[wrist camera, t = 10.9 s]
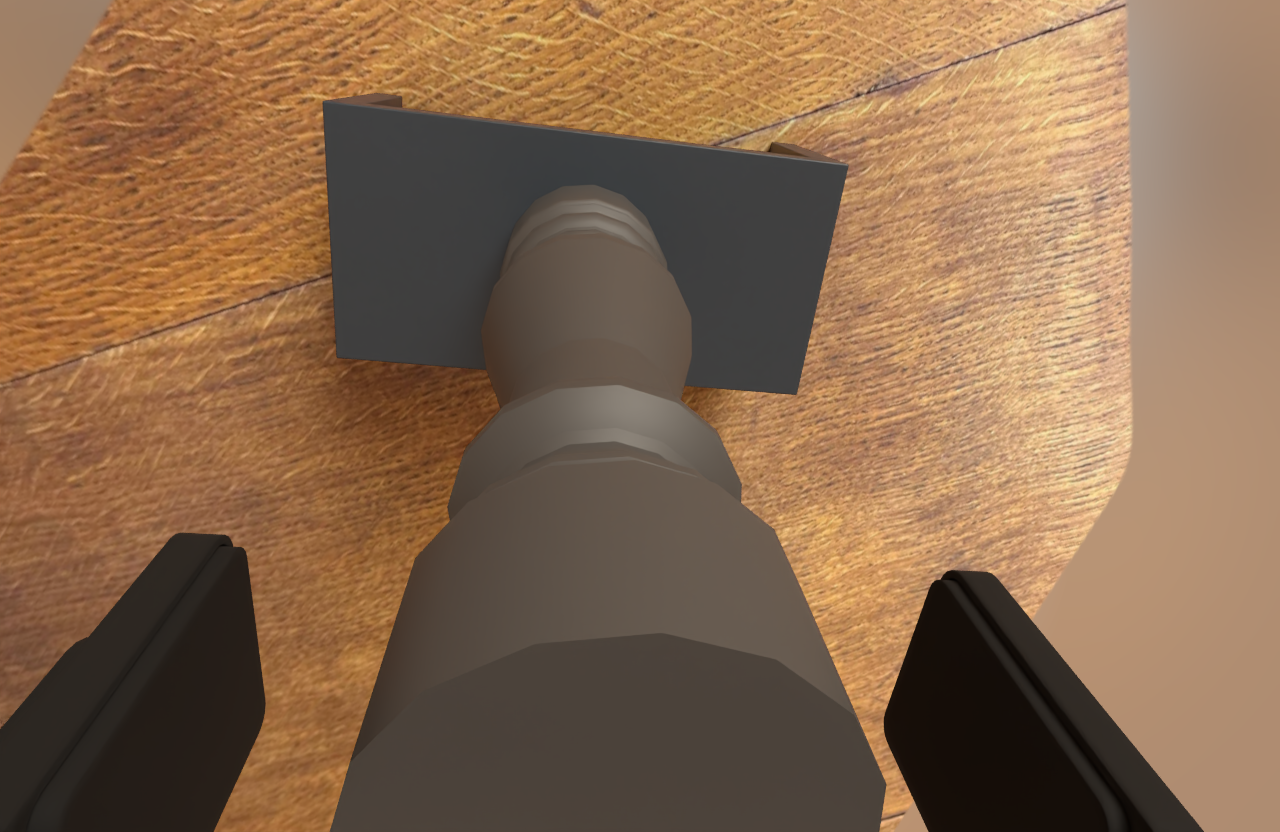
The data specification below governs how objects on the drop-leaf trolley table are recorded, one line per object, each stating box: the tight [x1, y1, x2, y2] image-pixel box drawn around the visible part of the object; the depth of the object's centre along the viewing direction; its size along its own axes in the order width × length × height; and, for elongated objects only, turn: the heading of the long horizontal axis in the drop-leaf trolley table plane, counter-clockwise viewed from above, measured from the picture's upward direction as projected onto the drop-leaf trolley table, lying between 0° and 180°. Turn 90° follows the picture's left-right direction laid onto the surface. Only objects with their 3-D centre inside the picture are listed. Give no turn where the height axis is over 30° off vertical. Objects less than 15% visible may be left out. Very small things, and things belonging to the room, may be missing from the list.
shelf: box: [323, 93, 848, 395], centre depth 34 cm, size 20×10×8 cm, turn 83°
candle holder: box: [330, 185, 886, 832], centre depth 19 cm, size 6×6×25 cm
